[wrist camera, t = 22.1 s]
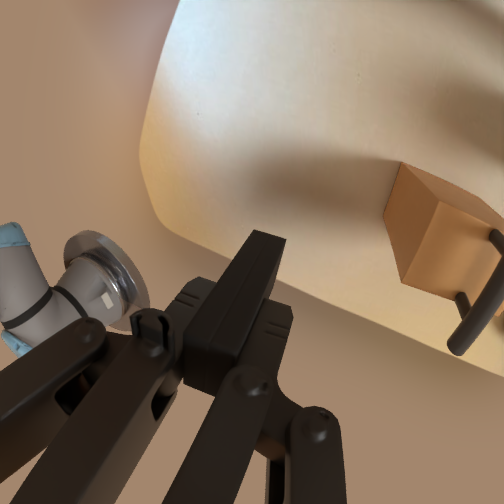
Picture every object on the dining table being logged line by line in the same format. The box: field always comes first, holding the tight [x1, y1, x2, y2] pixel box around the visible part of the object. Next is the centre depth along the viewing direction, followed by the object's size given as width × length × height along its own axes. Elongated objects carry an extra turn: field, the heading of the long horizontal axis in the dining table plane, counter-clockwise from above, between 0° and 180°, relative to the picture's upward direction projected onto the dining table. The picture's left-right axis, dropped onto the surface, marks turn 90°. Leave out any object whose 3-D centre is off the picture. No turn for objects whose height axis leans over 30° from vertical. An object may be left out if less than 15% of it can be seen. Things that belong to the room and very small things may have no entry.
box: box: [383, 162, 504, 356], centre depth 17 cm, size 10×9×16 cm
